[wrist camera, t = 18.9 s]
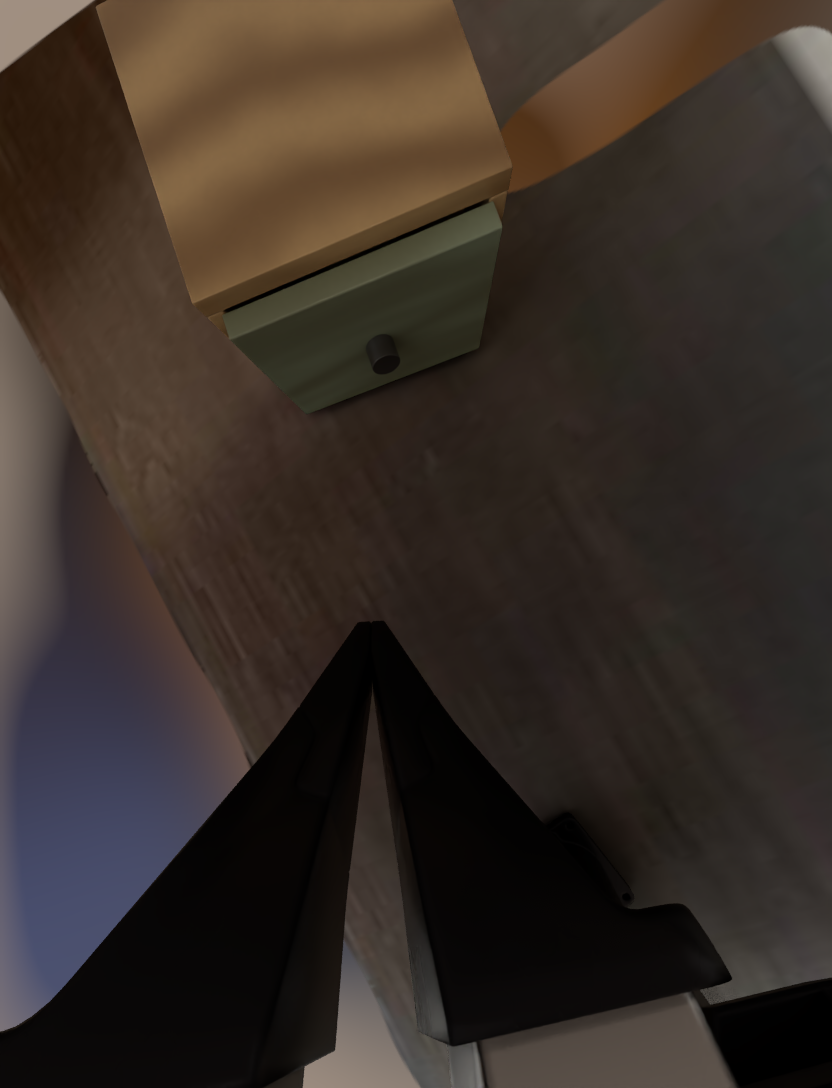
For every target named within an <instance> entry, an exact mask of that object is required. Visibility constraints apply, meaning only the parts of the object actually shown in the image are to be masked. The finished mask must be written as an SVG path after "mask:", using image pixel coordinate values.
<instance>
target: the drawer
mask: <svg viewBox="0 0 832 1088" xmlns="http://www.w3.org/2000/svg"><path fill="white" fill-rule="evenodd" d="M501 233H502V223H501V221H500V218H499V215H498V212H497V210H496V207H495V204H494V202H493V201H492V202H489V203H487V204H485V205H482V206H480V207H478V208H475V209H473V210H470V211H468V212H466V213H464V209H462V210H459V211H457V212H455V213H452V214H450V215H448V216H445V217H443V218H440V219H438V220H436V221H433V222H431V223H429V224H426V225H424V226H422V227H419V228H417V229H414V230H412V231H410V232H407V233H405V234H403V235H400V236H398V237H396V242H394V243H392V244H390V245H387V246H385V247H383V248H380V249H378V250H375V251H373V252H371V253H368V254H366V255H364V256H361V257H359V258H356V259H354V260H352V261H349V262H347V263H345V264H342V265H340V266H337V267H335V268H333V269H330V270H328V271H326V272H323V273H321V274H318V275H316V276H314V277H311V278H309V279H307V280H304V281H302V282H300V283H297V284H295V285H292V286H290V287H288V288H284V287H283V286H279V287H277V288H275V289H272V290H270V291H268V292H265V293H263V294H261V295H258V296H256V297H253V298H251V299H249V300H246V301H244V303H245V304H246V305H245V306H243V307H240V308H238V309H235V310H233V311H231V312H228V313H226V314H224V315H222V317H223V321H224V324H225V327H226V330H227V333H228V336H229V339H230V340H231V341H232V342H233V343H234V344H235V345H236V346H237V347H238V348H239V349H240V350H241V351H242V352H243V353H244V354H245V355H246V356H247V357H248V358H249V359H250V360H251V361H252V362H253V363H254V364H255V365H256V366H257V367H258V368H259V369H260V370H261V371H262V372H264V373H265V374H266V375H267V376H268V377H269V378H270V379H271V380H272V381H273V382H274V383H275V384H276V385H277V386H278V387H279V388H280V389H281V390H282V391H283V392H284V393H285V394H286V395H287V396H288V397H289V398H290V399H291V400H292V401H293V402H294V403H295V404H296V405H297V406H298V407H299V408H300V409H301V410H302V411H303V412H305V413H306V414H309V413H312V412H314V411H317V410H320V409H322V408H325V407H327V406H330V405H333V404H335V403H338V402H340V401H343V400H346V399H348V398H351V397H353V396H356V395H358V394H361V393H364V392H366V391H369V390H371V389H374V388H377V387H379V386H382V385H384V384H387V383H390V382H392V381H395V380H397V379H400V378H403V377H405V376H408V375H410V374H413V373H415V372H418V371H421V370H423V369H426V368H428V367H431V366H434V365H436V364H439V363H441V362H444V361H447V360H449V359H452V358H454V357H457V356H459V355H462V354H465V353H467V352H470V351H472V350H475V349H478V348H479V345H480V340H481V335H482V330H483V325H484V320H485V315H486V309H487V304H488V299H489V294H490V289H491V284H492V279H493V274H494V268H495V263H496V258H497V253H498V248H499V243H500V238H501Z"/></svg>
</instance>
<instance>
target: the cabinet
mask: <svg viewBox="0 0 832 1088" xmlns="http://www.w3.org/2000/svg"><path fill="white" fill-rule="evenodd" d="M96 9H97V12H98V15H99V18H100V22H101V25H102V28H103V31H104V34H105V37H106V40H107V43H108V46H109V49H110V52H111V55H112V58H113V61H114V65H115V68H116V71H117V74H118V77H119V80H120V83H121V86H122V89H123V92H124V95H125V98H126V101H127V104H128V107H129V111H130V114H131V117H132V120H133V123H134V126H135V129H136V132H137V135H138V138H139V141H140V144H141V147H142V150H143V154H144V157H145V160H146V163H147V166H148V169H149V172H150V175H151V178H152V181H153V184H154V187H155V190H156V193H157V196H158V200H159V203H160V206H161V209H162V212H163V215H164V218H165V221H166V224H167V227H168V230H169V233H170V236H171V239H172V243H173V246H174V249H175V252H176V255H177V258H178V261H179V264H180V267H181V270H182V273H183V276H184V279H185V282H186V286H187V289H188V292H189V295H190V298H191V301H192V304H193V305H194V306H195V307H197V308H198V309H199V310H200V311H201V312H202V313H203V314H204V315H205V316H206V317H208V319H209V320H210V321H211V322H213V323H214V324H215V325H216V326H217V327H218V328H219V329H220V330H221V331H222V332H223V333H224V334H225V335H226V336H227V337H228V338H229V336H228V333H227V330H226V327H225V324H224V321H223V317H222V315H224V314H226V313H228V312H231V311H233V310H235V309H238V308H240V307H243V306H245V305H246V304H245V303H244V301H246V300H249V299H251V298H253V297H256V296H258V295H261V294H263V293H265V292H268V291H270V290H272V289H275V288H277V287H279V286H282V285H284V284H287V283H289V282H291V281H294V280H296V279H298V278H301V277H303V276H306V275H308V274H310V273H313V272H315V271H317V270H320V269H322V268H324V267H327V266H329V265H332V264H334V263H336V262H339V261H341V260H343V259H346V258H348V257H350V256H353V255H355V254H358V253H360V252H362V251H365V250H367V249H369V248H372V247H374V246H377V245H379V244H381V243H384V242H386V241H388V240H391V239H393V238H395V237H398V236H400V235H403V234H405V233H407V232H410V231H412V230H414V229H417V228H419V227H422V226H424V225H426V224H429V223H431V222H433V221H436V220H438V219H440V218H443V217H445V216H448V215H450V214H452V213H455V212H457V211H459V210H462V209H464V213H466V212H468V211H470V210H473V209H475V208H478V207H480V206H482V205H485V204H487V203H489V202H492V201H493V202H494V204H495V207H496V210H497V212H498V215H499V218H500V221H501V223H502V218H503V212H504V207H505V202H506V197H507V190H508V188H509V183H510V178H511V173H512V168H513V166H512V163H511V160H510V157H509V155H508V152H507V149H506V146H505V144H504V141H503V138H502V136H501V133H500V130H499V127H498V124H497V122H496V119H495V116H494V113H493V111H492V108H491V105H490V102H489V100H488V97H487V94H486V91H485V89H484V86H483V83H482V80H481V78H480V75H479V72H478V69H477V67H476V64H475V61H474V58H473V56H472V53H471V50H470V47H469V45H468V42H467V39H466V36H465V34H464V31H463V28H462V25H461V23H460V20H459V17H458V14H457V12H456V9H455V6H454V3H453V1H452V0H107V1H105V2H103V3H102V4H100V5H98V6H96Z"/></svg>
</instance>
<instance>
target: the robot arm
mask: <svg viewBox="0 0 832 1088" xmlns="http://www.w3.org/2000/svg"><path fill="white" fill-rule="evenodd" d="M372 682H373V694H374V702H375V709H376V716H377V723H378V730H379V737H380V744H381V751H382V758H383V765H384V772H385V779H386V786H387V793H388V800H389V807H390V814H391V822H392V829H393V836H394V843H395V850H396V857H397V863H398V871H399V878H400V886H401V893H402V901H403V910H404V918H405V927H406V935H407V943H408V952H409V960H410V969H411V977H412V986H413V994H414V1002H415V1011H416V1020H417V1028H418V1032H420V1033H422V1034H424V1035H427V1036H429V1037H431V1038H433V1039H436V1040H438V1041H440V1042H443V1043H445V1044H447V1051H448V1061H449V1070H450V1079H451V1088H832V978H827V979H821V980H815V981H809V982H804V983H800V984H795V985H791V986H787V987H783V988H779V989H775V990H771V991H766V992H762V993H758V994H754V995H750V996H746V997H741V998H737V999H733V1000H729V1001H725V1002H721V1003H716V1004H712V1005H710V1004H709V1002H708V1001H707V999H706V998H705V997H704V995H703V994H702V993H701V991H700V990H701V989H705V988H709V987H713V986H716V985H720V984H723V983H726V982H729V981H731V980H732V977H731V975H730V973H729V971H728V969H727V968H726V966H725V964H724V962H723V961H722V959H721V957H720V955H719V954H718V953H717V951H716V949H715V947H714V945H713V944H712V942H711V941H710V939H709V937H708V936H707V934H706V933H705V931H704V930H703V929H702V927H701V926H700V924H699V922H698V921H697V920H696V918H695V917H694V915H693V914H692V913H691V911H690V910H689V909H688V908H687V907H686V906H685V905H683V904H679V903H674V904H665V905H659V906H653V907H648V908H643V909H629V908H627V906H629V905H630V904H632V903H633V901H634V894H633V893H632V891H631V889H630V887H629V885H628V884H627V883H626V882H625V880H624V879H623V878H622V877H621V875H620V874H619V873H618V872H617V870H616V869H615V868H614V867H613V865H612V864H611V863H610V861H609V860H608V859H607V858H606V856H605V855H604V854H603V853H602V851H601V850H600V849H599V848H598V846H597V845H596V844H595V842H594V841H593V840H592V839H591V837H590V836H589V835H588V834H587V832H586V831H585V830H584V829H583V827H582V826H581V825H580V823H579V822H578V821H577V820H576V818H575V817H574V816H573V815H572V814H570V813H565V814H562V815H561V816H560V817H558V818H557V819H555V820H554V821H553V822H551V823H550V824H548V825H547V826H545V825H544V824H543V823H542V822H541V821H540V820H539V818H538V817H537V816H536V815H535V814H534V813H533V812H532V810H531V809H530V808H529V807H528V806H527V805H526V804H525V803H524V801H523V800H522V799H521V798H520V797H519V796H518V795H517V793H516V792H515V791H514V790H513V789H512V788H511V787H510V785H509V784H508V783H507V782H506V781H505V780H504V779H503V778H502V776H501V775H500V774H499V773H498V772H497V771H496V770H495V768H494V767H493V766H492V765H491V764H490V763H489V762H488V760H487V759H486V758H485V757H484V756H483V755H482V754H481V753H480V751H479V750H478V749H477V748H476V747H475V746H474V745H473V743H472V742H471V741H470V740H469V739H468V738H467V737H466V735H465V734H464V733H463V732H462V731H461V729H460V728H459V727H458V726H457V725H456V723H455V722H454V721H453V720H452V718H451V717H450V716H449V714H448V713H447V711H446V710H445V709H444V707H443V706H442V705H441V703H440V702H439V700H438V699H437V697H436V696H435V695H434V693H433V692H432V690H431V689H430V687H429V686H428V685H427V683H426V682H425V680H424V679H423V677H422V676H421V674H420V673H419V671H418V670H417V668H416V667H415V665H414V664H413V662H412V661H411V660H410V658H409V657H408V655H407V654H406V652H405V651H404V649H403V648H402V646H401V645H400V643H399V642H398V640H397V639H396V637H395V636H394V634H393V633H392V632H391V630H390V629H389V627H388V626H387V624H386V623H385V622H384V621H373V622H372V623H371V622H369V621H367V622H358V623H357V624H356V626H355V627H354V629H353V630H352V631H351V633H350V634H349V636H348V637H347V639H346V640H345V641H344V643H343V644H342V646H341V647H340V649H339V650H338V651H337V653H336V654H335V656H334V657H333V659H332V660H331V662H330V663H329V664H328V666H327V667H326V669H325V670H324V672H323V673H322V674H321V676H320V677H319V679H318V680H317V682H316V683H315V684H314V686H313V687H312V689H311V690H310V692H309V693H308V694H307V696H306V697H305V699H304V700H303V702H302V703H301V704H300V707H298V708H297V710H296V711H295V712H294V714H293V715H292V717H291V718H290V720H289V721H288V722H287V724H286V725H285V726H284V728H283V729H282V730H281V732H280V733H279V734H278V736H277V737H276V739H275V740H274V741H273V742H272V743H271V745H270V746H269V747H268V748H267V749H266V751H265V752H264V753H263V754H262V756H261V757H260V758H259V759H258V760H257V762H256V763H255V764H254V765H253V766H252V767H251V769H250V770H249V771H248V772H247V773H246V774H245V776H244V777H243V778H242V779H241V780H240V781H239V783H238V784H237V785H236V786H235V787H234V789H233V790H232V791H231V792H230V793H229V794H228V796H227V797H226V798H225V799H224V800H223V801H222V802H221V804H220V805H219V806H218V807H217V808H216V810H215V811H214V812H213V813H212V814H211V815H210V817H209V818H208V819H207V820H206V821H205V823H204V824H203V825H202V826H201V827H200V828H199V829H198V831H197V832H196V833H195V834H194V835H193V836H192V838H191V839H190V840H189V841H188V842H187V843H186V845H185V846H184V847H183V848H182V849H181V851H180V852H179V853H178V854H177V855H176V856H175V858H174V859H173V860H172V861H171V862H170V863H169V864H168V866H167V867H166V868H165V869H164V870H163V872H162V873H161V874H160V875H159V876H158V877H157V879H156V880H155V881H154V882H153V883H152V884H151V886H150V887H149V888H148V889H147V890H146V891H145V893H144V894H143V895H142V896H141V897H140V898H139V900H138V901H137V902H136V903H135V904H134V905H133V907H132V908H131V909H130V910H129V911H128V913H127V914H126V915H125V916H124V917H123V918H122V920H121V921H120V922H119V923H118V924H117V925H116V927H115V928H114V929H113V930H112V931H111V932H110V934H109V935H108V936H107V937H106V938H105V939H104V940H103V942H102V943H101V944H100V945H99V946H98V948H97V949H96V950H95V951H94V952H93V953H92V955H91V956H90V957H89V958H88V959H87V960H86V962H85V963H84V964H83V965H82V966H81V968H80V969H79V970H78V971H77V972H76V973H75V974H74V976H73V977H72V978H71V979H70V980H69V981H68V983H67V984H66V985H65V986H64V987H63V988H62V989H61V990H60V991H59V992H58V993H57V995H56V996H55V997H54V998H53V999H52V1000H51V1001H50V1002H49V1003H47V1004H46V1005H45V1006H44V1007H43V1008H41V1009H40V1010H39V1011H38V1012H37V1013H35V1014H34V1015H33V1016H32V1017H30V1018H28V1019H27V1020H25V1021H24V1022H22V1023H21V1024H19V1025H17V1026H16V1027H13V1028H10V1029H8V1030H5V1031H1V1032H0V1088H303V1078H304V1067H305V1066H306V1065H308V1064H310V1063H312V1062H314V1061H316V1060H318V1059H320V1058H322V1057H324V1056H326V1055H327V1054H329V1053H331V1052H333V1051H335V1044H336V1033H337V1018H338V1005H339V992H340V990H339V989H340V978H341V964H342V951H343V937H344V924H345V911H346V900H347V890H348V881H349V871H350V865H351V857H352V849H353V841H354V833H355V825H356V817H357V809H358V801H359V793H360V785H361V776H362V768H363V760H364V752H365V744H366V736H367V728H368V720H369V712H370V704H371V696H372ZM568 822H571V823H570V824H567V823H568ZM624 893H625V894H624Z"/></svg>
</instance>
